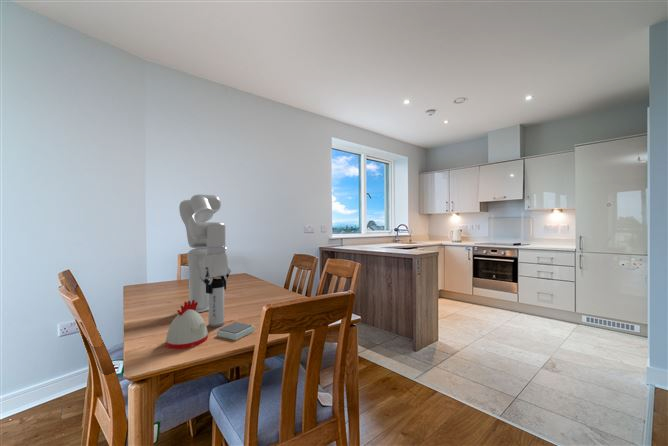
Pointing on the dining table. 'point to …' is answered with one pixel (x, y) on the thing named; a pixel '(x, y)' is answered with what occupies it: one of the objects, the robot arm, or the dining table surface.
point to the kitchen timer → (186, 328)
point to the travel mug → (216, 304)
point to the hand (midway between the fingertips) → (216, 291)
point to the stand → (235, 331)
